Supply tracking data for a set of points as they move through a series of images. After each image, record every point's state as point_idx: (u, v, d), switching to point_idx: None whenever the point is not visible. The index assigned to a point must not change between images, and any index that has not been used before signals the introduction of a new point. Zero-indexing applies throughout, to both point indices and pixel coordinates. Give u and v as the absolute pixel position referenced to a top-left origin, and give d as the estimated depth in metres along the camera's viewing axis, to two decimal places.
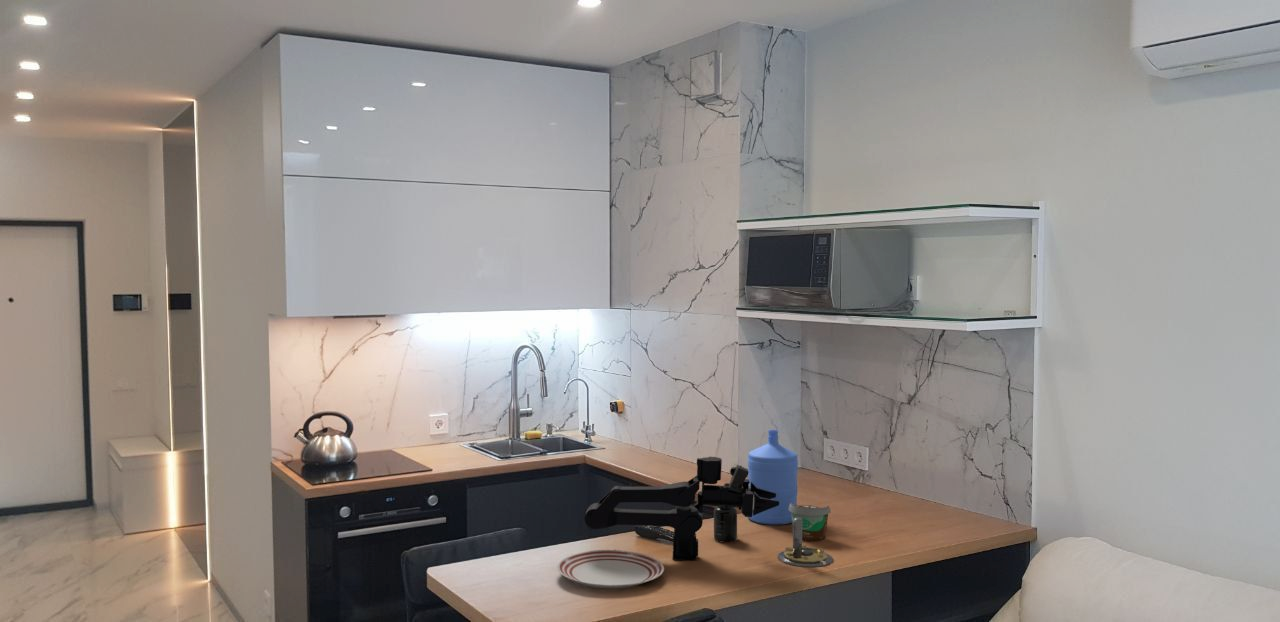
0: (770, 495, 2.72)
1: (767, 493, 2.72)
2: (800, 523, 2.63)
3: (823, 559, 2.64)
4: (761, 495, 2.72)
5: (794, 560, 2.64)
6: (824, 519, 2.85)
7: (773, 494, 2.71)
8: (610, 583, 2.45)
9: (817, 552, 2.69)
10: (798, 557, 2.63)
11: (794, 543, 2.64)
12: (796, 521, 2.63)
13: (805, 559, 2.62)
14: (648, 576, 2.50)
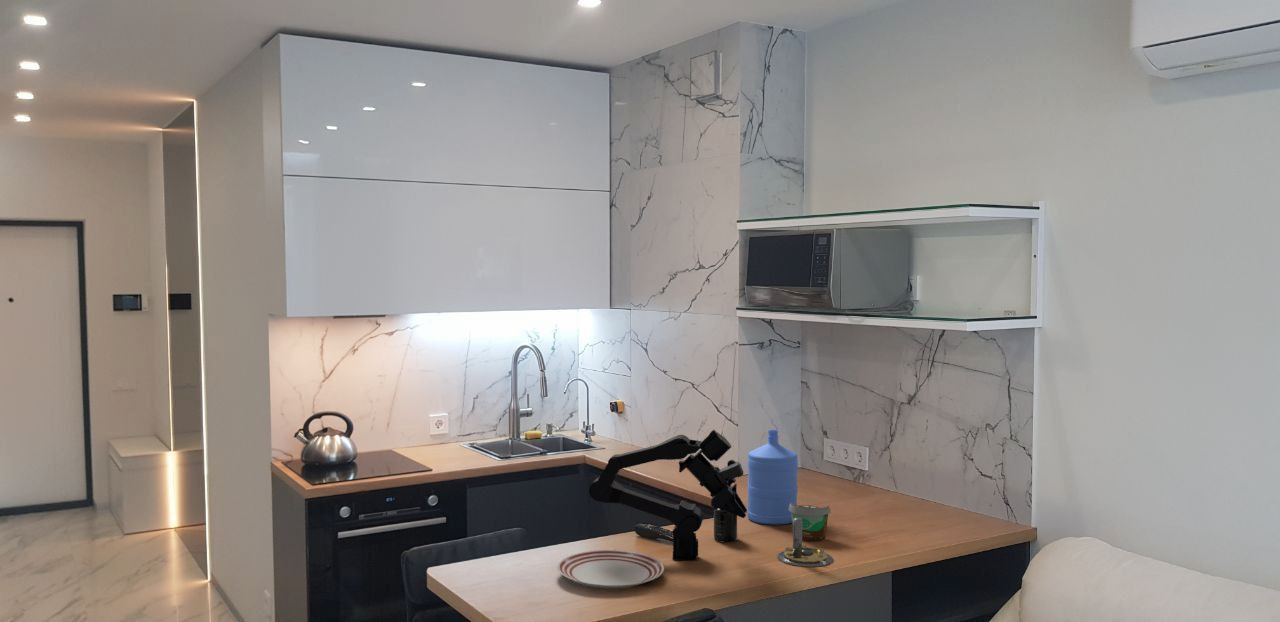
0: (741, 507, 2.69)
1: (740, 504, 2.69)
2: (800, 523, 2.63)
3: (823, 559, 2.64)
4: None
5: (794, 560, 2.64)
6: (824, 519, 2.85)
7: (744, 509, 2.69)
8: (610, 583, 2.45)
9: (817, 552, 2.69)
10: (798, 557, 2.63)
11: (794, 543, 2.64)
12: (796, 521, 2.63)
13: (805, 559, 2.62)
14: (648, 576, 2.50)
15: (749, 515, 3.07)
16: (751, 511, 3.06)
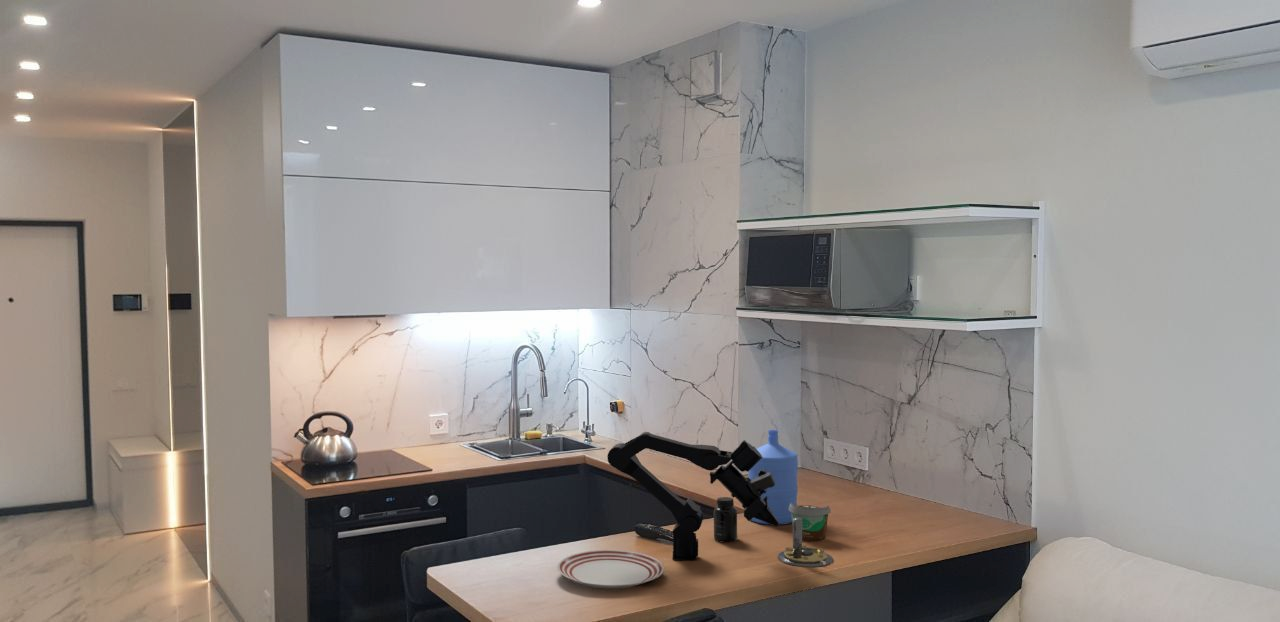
0: None
1: None
2: (800, 523, 2.63)
3: (823, 559, 2.64)
4: None
5: (794, 560, 2.64)
6: (824, 519, 2.85)
7: None
8: (610, 583, 2.45)
9: (817, 552, 2.69)
10: (798, 557, 2.63)
11: (794, 543, 2.64)
12: (796, 521, 2.63)
13: (805, 559, 2.62)
14: (648, 576, 2.50)
15: None
16: None
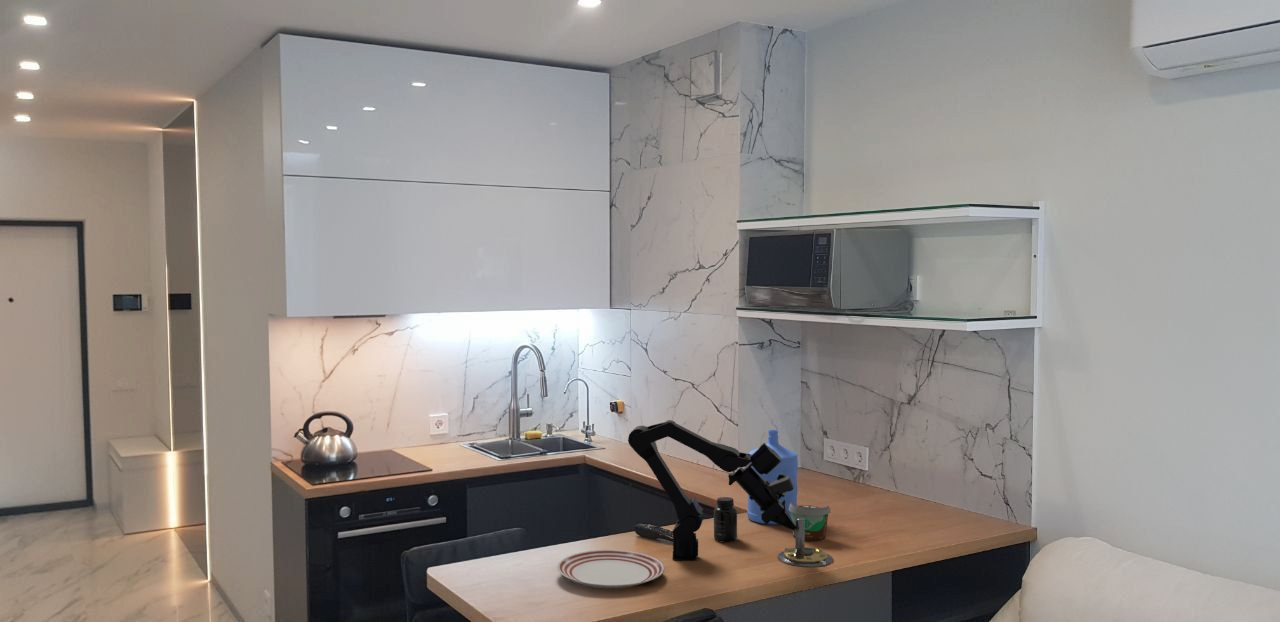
0: None
1: None
2: (803, 523, 2.63)
3: (825, 558, 2.65)
4: None
5: (797, 561, 2.63)
6: (824, 519, 2.85)
7: None
8: (610, 583, 2.45)
9: (816, 551, 2.69)
10: (801, 557, 2.63)
11: (797, 544, 2.63)
12: (799, 521, 2.63)
13: (808, 559, 2.62)
14: (648, 576, 2.50)
15: (749, 515, 3.07)
16: (751, 511, 3.06)
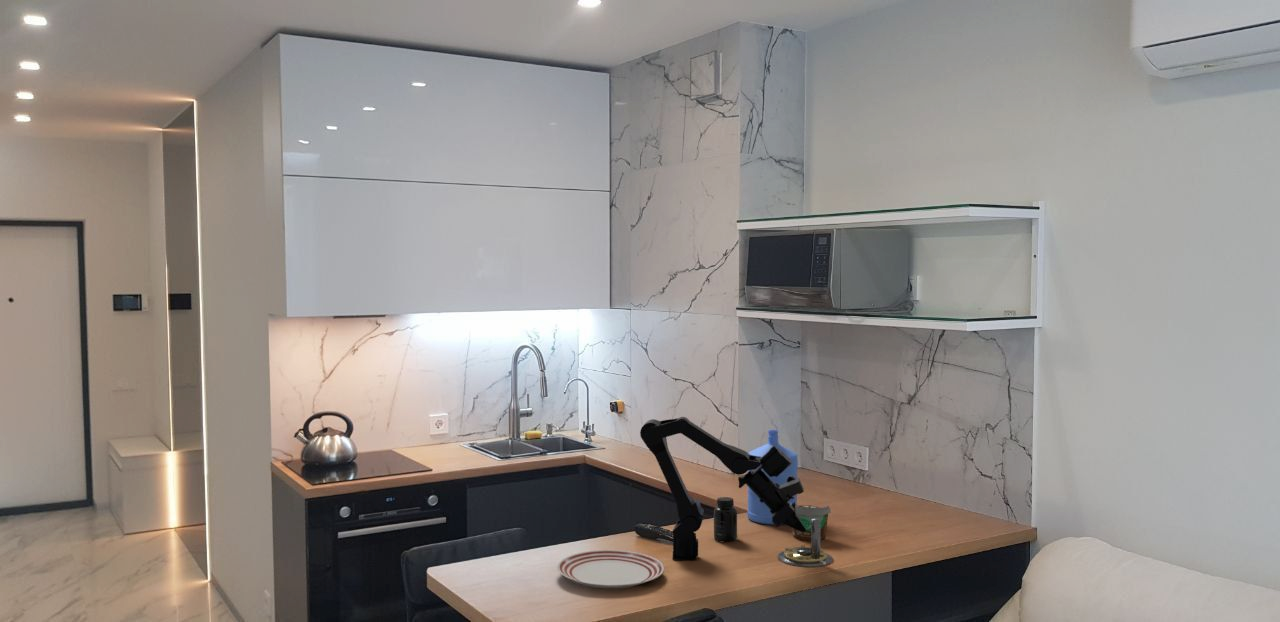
0: None
1: None
2: None
3: None
4: None
5: (817, 561, 2.63)
6: (824, 519, 2.85)
7: None
8: (610, 583, 2.45)
9: None
10: (819, 557, 2.64)
11: (817, 544, 2.63)
12: (819, 521, 2.63)
13: (824, 556, 2.65)
14: (648, 576, 2.50)
15: (749, 515, 3.07)
16: (751, 511, 3.06)
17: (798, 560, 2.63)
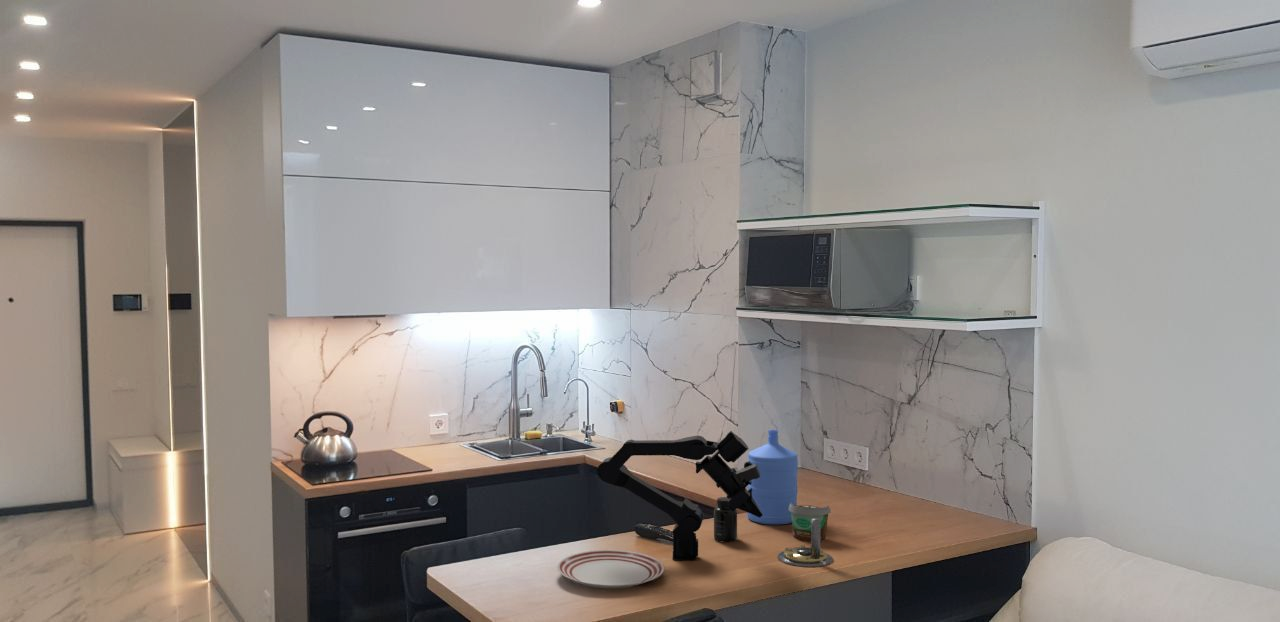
0: None
1: None
2: None
3: None
4: None
5: (817, 561, 2.63)
6: (824, 519, 2.85)
7: None
8: (610, 583, 2.45)
9: None
10: (819, 557, 2.64)
11: (817, 544, 2.63)
12: (819, 521, 2.63)
13: (824, 556, 2.65)
14: (648, 576, 2.50)
15: (749, 515, 3.07)
16: None
17: (798, 560, 2.63)
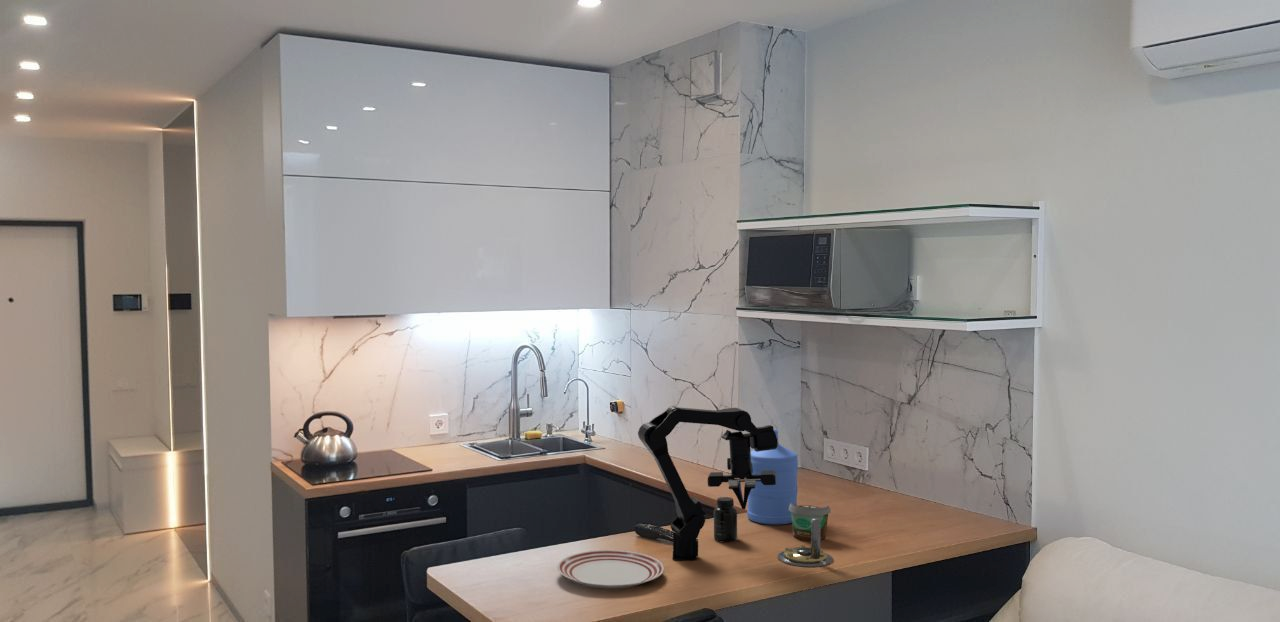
0: (743, 503, 2.73)
1: None
2: None
3: None
4: (741, 495, 2.73)
5: (817, 561, 2.63)
6: (824, 519, 2.85)
7: None
8: (610, 583, 2.45)
9: None
10: (819, 557, 2.64)
11: (817, 544, 2.63)
12: (819, 521, 2.63)
13: (824, 556, 2.65)
14: (648, 576, 2.50)
15: (749, 515, 3.07)
16: (751, 511, 3.06)
17: (798, 560, 2.63)
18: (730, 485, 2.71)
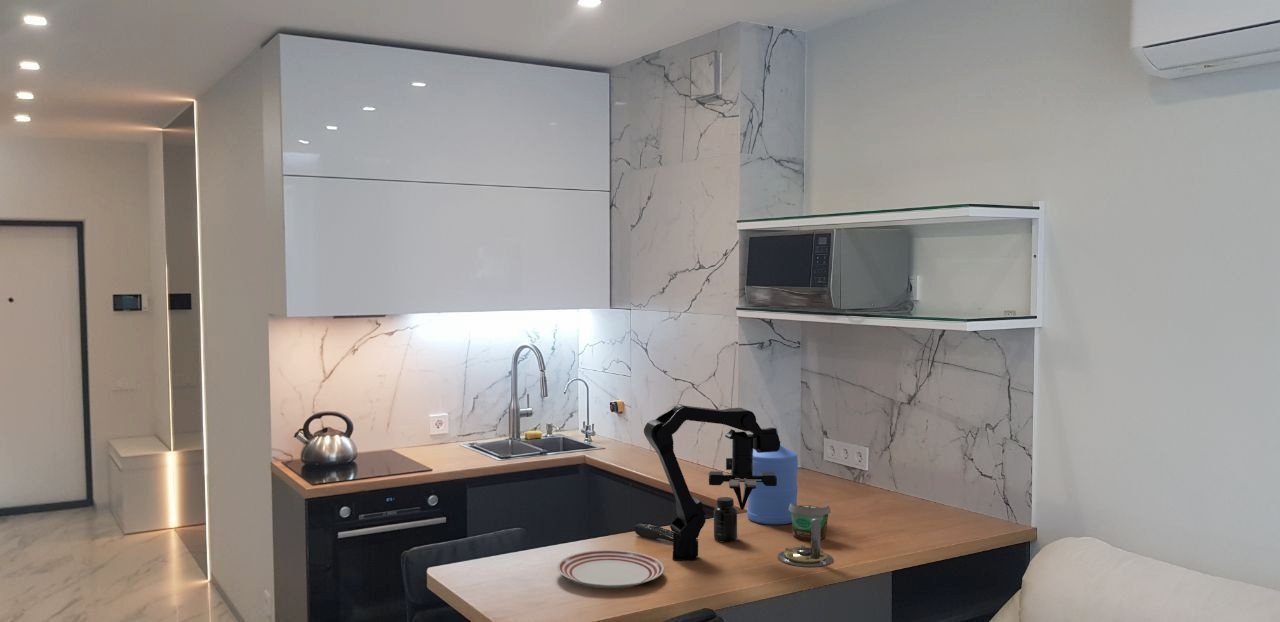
0: None
1: (741, 500, 2.74)
2: None
3: None
4: None
5: (817, 561, 2.63)
6: (824, 519, 2.85)
7: None
8: (610, 583, 2.45)
9: None
10: (819, 557, 2.64)
11: (817, 544, 2.63)
12: (819, 521, 2.63)
13: (824, 556, 2.65)
14: (648, 576, 2.50)
15: (749, 515, 3.07)
16: (751, 511, 3.06)
17: (798, 560, 2.63)
18: (731, 484, 2.71)
